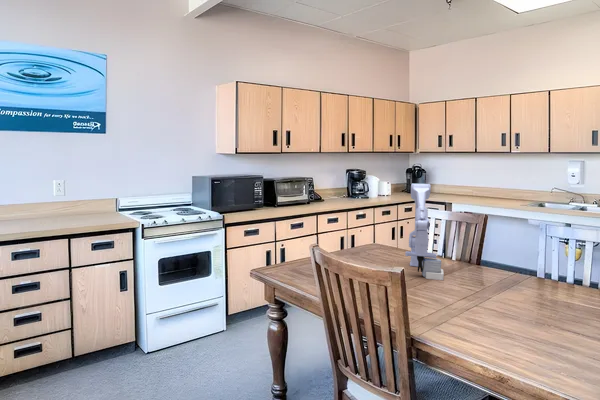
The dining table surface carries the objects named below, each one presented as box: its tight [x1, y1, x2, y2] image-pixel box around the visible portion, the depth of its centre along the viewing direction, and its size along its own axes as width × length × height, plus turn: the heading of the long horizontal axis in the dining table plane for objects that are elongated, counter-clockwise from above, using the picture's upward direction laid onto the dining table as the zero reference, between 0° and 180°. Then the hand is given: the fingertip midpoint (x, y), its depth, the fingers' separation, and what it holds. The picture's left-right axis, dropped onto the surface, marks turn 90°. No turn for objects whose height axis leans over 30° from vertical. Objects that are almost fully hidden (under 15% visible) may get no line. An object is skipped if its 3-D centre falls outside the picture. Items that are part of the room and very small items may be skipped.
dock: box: [425, 268, 445, 281], centre depth 204 cm, size 9×8×3 cm
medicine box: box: [421, 257, 442, 278], centre depth 204 cm, size 8×4×9 cm, turn 87°
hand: (420, 271), depth 206 cm, fingers closed, pressing on medicine box
